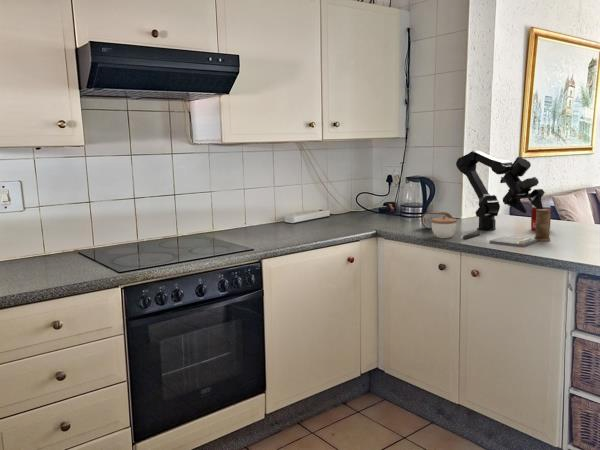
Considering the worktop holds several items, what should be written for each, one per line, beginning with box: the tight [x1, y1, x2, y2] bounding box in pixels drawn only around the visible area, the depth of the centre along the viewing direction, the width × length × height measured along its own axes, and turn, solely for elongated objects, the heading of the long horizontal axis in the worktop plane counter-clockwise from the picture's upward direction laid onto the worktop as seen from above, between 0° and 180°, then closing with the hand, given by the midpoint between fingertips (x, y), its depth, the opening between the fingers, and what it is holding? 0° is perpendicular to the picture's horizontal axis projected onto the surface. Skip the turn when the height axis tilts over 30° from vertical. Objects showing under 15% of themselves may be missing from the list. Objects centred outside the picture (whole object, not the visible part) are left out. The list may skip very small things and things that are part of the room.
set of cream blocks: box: [519, 237, 532, 244], centre depth 212 cm, size 1×8×1 cm, turn 135°
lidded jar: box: [431, 216, 457, 239], centre depth 234 cm, size 11×11×9 cm
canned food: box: [530, 204, 552, 232], centre depth 243 cm, size 8×8×11 cm
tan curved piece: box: [421, 210, 453, 230], centre depth 254 cm, size 15×3×8 cm, turn 54°
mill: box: [533, 209, 552, 243], centre depth 219 cm, size 6×6×12 cm
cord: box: [462, 231, 481, 240], centre depth 231 cm, size 14×2×2 cm, turn 135°
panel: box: [489, 235, 538, 248], centre depth 217 cm, size 14×13×1 cm
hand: (534, 211), depth 222 cm, fingers open, 9 cm apart
